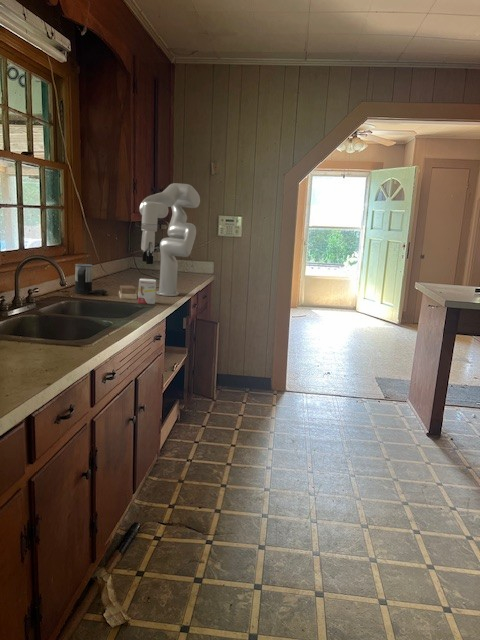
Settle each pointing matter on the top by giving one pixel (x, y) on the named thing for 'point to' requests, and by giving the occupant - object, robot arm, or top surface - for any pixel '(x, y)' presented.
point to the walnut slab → (127, 289)
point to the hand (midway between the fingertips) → (147, 262)
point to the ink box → (147, 291)
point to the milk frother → (84, 279)
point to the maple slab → (127, 296)
